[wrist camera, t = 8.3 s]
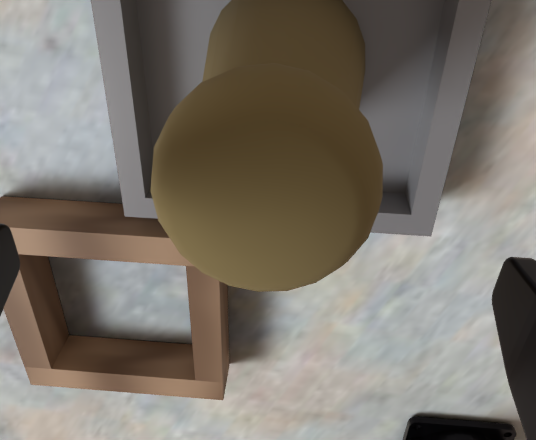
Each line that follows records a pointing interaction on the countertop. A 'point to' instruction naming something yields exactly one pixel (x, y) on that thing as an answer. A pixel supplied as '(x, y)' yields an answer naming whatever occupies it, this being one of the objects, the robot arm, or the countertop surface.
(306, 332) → the countertop surface
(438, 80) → the tray
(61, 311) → the pin holder
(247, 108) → the cork
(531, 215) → the countertop surface
